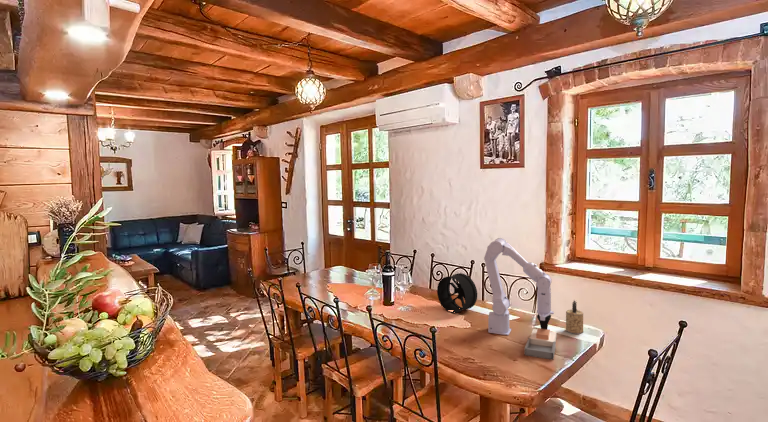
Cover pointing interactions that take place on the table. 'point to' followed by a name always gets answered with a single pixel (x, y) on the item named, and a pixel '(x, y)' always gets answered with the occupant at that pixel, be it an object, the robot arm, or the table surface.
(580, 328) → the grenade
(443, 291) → the car wheel rim
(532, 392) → the table surface
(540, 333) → the tile
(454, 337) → the table surface
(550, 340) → the board
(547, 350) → the tray
